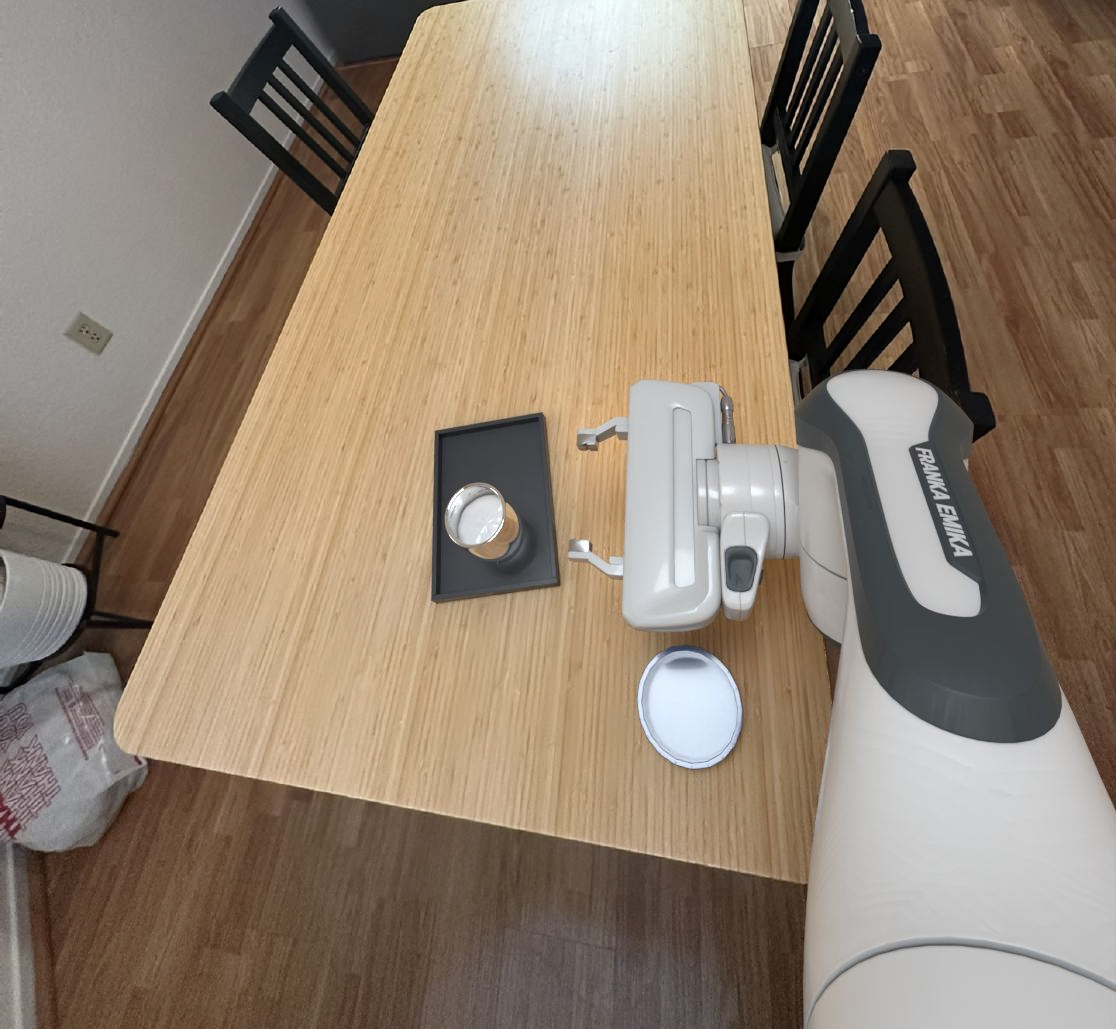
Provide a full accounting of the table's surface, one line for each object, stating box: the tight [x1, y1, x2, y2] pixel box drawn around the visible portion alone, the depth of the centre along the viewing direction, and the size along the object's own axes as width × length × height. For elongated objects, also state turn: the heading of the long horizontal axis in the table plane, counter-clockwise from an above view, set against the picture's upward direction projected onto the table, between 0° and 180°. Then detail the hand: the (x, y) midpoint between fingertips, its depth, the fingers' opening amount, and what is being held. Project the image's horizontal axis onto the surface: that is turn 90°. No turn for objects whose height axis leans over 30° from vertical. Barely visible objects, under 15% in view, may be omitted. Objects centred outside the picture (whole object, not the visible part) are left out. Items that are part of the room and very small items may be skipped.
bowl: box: [636, 644, 744, 771], centre depth 63 cm, size 10×10×4 cm
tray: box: [430, 411, 561, 604], centre depth 80 cm, size 21×15×2 cm
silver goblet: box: [445, 483, 536, 573], centre depth 71 cm, size 7×7×15 cm
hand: (573, 492), depth 54 cm, fingers open, 8 cm apart
